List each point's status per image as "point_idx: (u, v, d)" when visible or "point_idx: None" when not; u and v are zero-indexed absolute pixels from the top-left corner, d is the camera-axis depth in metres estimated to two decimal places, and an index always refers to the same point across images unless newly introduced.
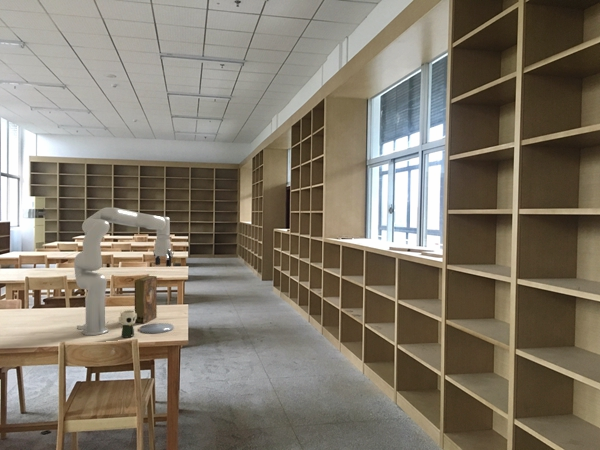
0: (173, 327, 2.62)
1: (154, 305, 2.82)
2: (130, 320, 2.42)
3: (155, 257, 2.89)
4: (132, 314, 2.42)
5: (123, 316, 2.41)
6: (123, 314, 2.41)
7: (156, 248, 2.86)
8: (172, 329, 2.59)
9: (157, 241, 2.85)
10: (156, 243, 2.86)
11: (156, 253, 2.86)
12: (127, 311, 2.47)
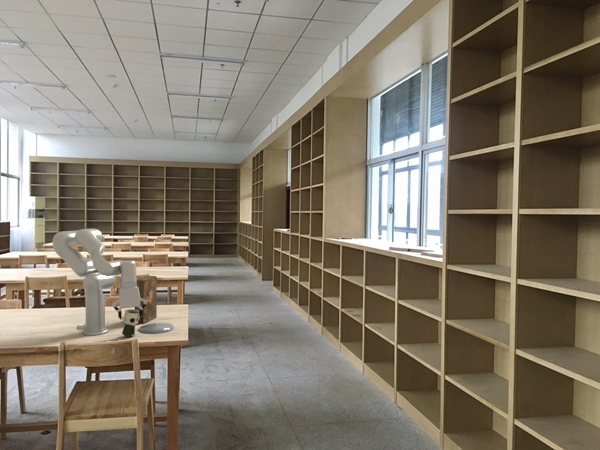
0: (173, 327, 2.62)
1: (154, 305, 2.82)
2: (133, 320, 2.41)
3: (118, 310, 2.41)
4: (136, 315, 2.42)
5: (127, 315, 2.40)
6: (128, 313, 2.40)
7: (123, 299, 2.40)
8: (172, 329, 2.59)
9: (124, 290, 2.40)
10: (122, 293, 2.40)
11: (123, 305, 2.40)
12: (131, 310, 2.46)
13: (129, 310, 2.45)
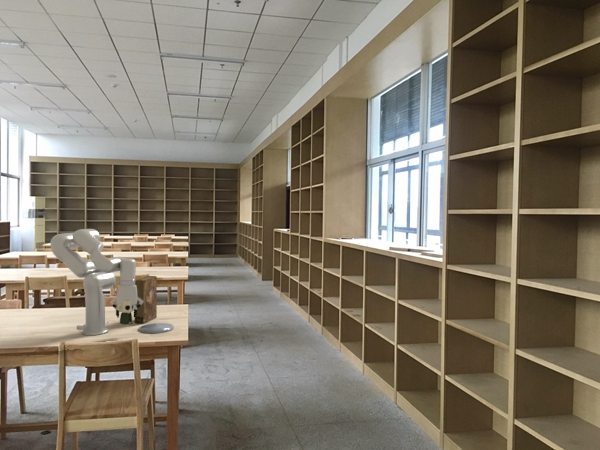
0: (173, 327, 2.62)
1: (154, 305, 2.82)
2: (129, 308, 2.42)
3: (116, 308, 2.42)
4: None
5: (122, 303, 2.41)
6: (122, 301, 2.41)
7: (120, 297, 2.40)
8: (172, 329, 2.59)
9: (122, 288, 2.40)
10: (120, 291, 2.40)
11: (120, 303, 2.40)
12: None
13: None
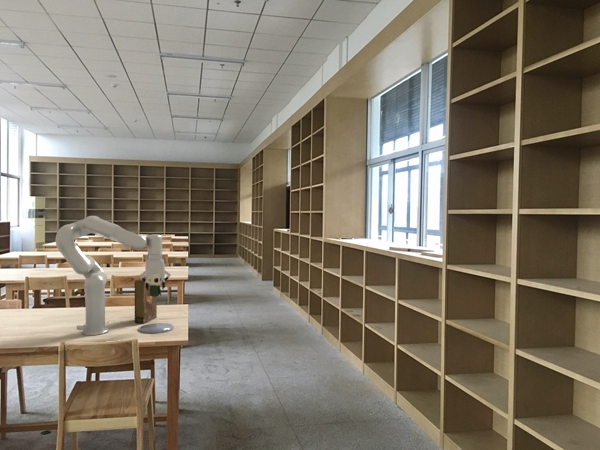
0: (173, 327, 2.62)
1: (154, 305, 2.82)
2: (157, 280, 2.55)
3: (146, 282, 2.55)
4: None
5: (151, 276, 2.54)
6: (151, 275, 2.54)
7: (149, 270, 2.54)
8: (172, 329, 2.59)
9: (151, 262, 2.54)
10: (149, 264, 2.54)
11: (149, 276, 2.54)
12: None
13: None
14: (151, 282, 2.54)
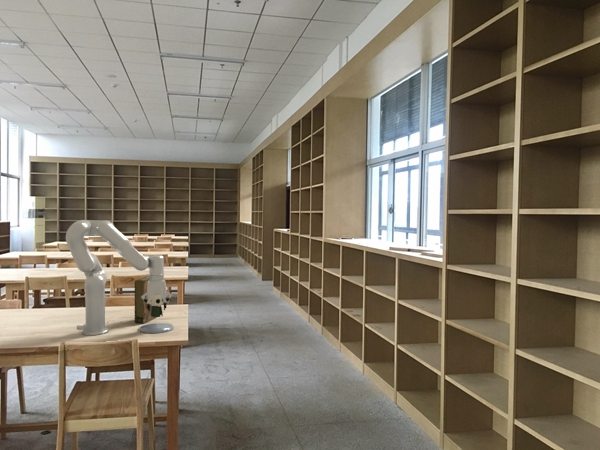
0: (173, 327, 2.62)
1: None
2: (159, 301, 2.57)
3: (147, 302, 2.57)
4: None
5: (152, 297, 2.56)
6: (152, 295, 2.56)
7: (151, 291, 2.56)
8: (172, 329, 2.59)
9: (152, 283, 2.56)
10: (151, 285, 2.56)
11: (151, 297, 2.56)
12: None
13: None
14: (153, 303, 2.56)
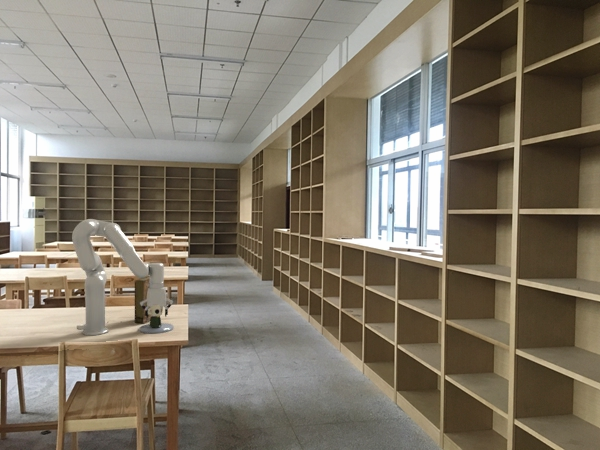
0: (173, 327, 2.62)
1: None
2: (158, 311, 2.57)
3: (145, 309, 2.57)
4: None
5: (152, 308, 2.56)
6: (152, 306, 2.56)
7: (151, 299, 2.56)
8: (172, 329, 2.59)
9: (152, 291, 2.56)
10: (150, 293, 2.56)
11: (151, 304, 2.56)
12: None
13: None
14: (152, 313, 2.56)
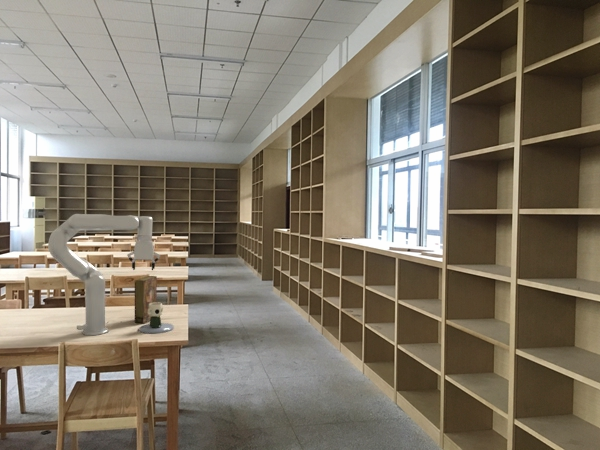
0: (173, 327, 2.62)
1: None
2: (158, 311, 2.57)
3: (132, 261, 2.58)
4: (160, 306, 2.58)
5: (152, 308, 2.56)
6: (152, 306, 2.56)
7: (138, 251, 2.57)
8: (172, 329, 2.59)
9: (140, 243, 2.57)
10: (138, 245, 2.57)
11: (138, 257, 2.57)
12: (154, 303, 2.62)
13: (152, 304, 2.61)
14: (152, 313, 2.56)
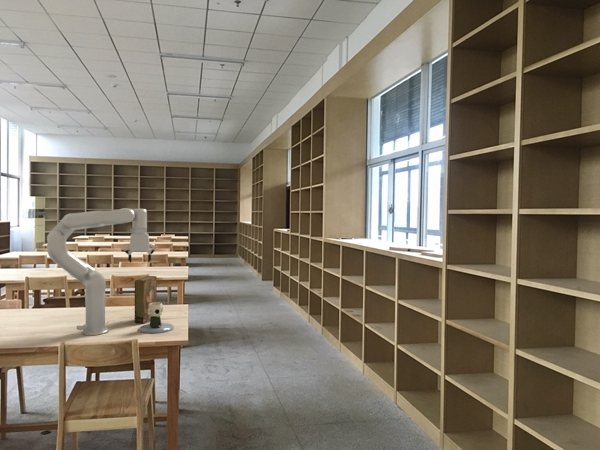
0: (173, 327, 2.62)
1: None
2: (158, 311, 2.57)
3: (128, 254, 2.59)
4: (160, 306, 2.58)
5: (152, 308, 2.56)
6: (152, 306, 2.56)
7: (134, 243, 2.58)
8: (172, 329, 2.59)
9: (135, 236, 2.58)
10: (133, 238, 2.58)
11: (134, 249, 2.58)
12: (154, 303, 2.62)
13: (152, 304, 2.61)
14: (152, 313, 2.56)
